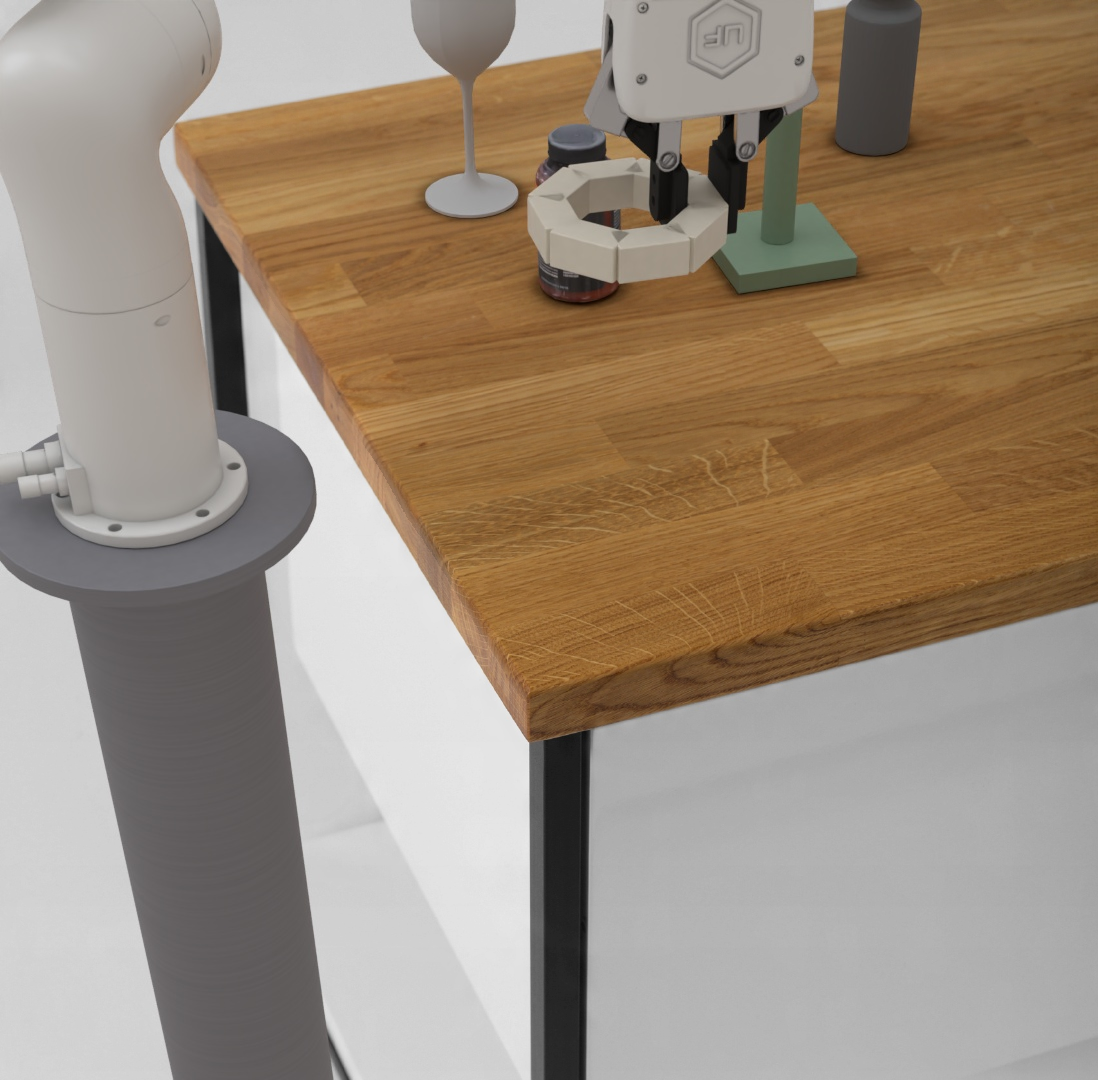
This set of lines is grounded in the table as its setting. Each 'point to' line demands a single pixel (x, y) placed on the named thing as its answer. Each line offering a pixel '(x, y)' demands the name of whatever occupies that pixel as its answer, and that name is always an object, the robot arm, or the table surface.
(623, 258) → the ring
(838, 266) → the stand
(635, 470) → the table surface
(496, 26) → the wineglass
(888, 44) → the bottle
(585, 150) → the supplement bottle
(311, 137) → the table surface
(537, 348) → the table surface
